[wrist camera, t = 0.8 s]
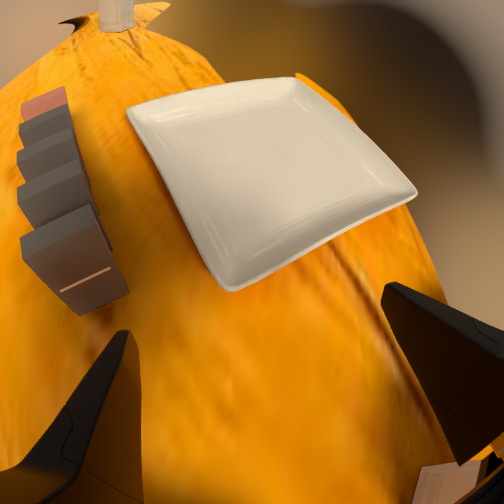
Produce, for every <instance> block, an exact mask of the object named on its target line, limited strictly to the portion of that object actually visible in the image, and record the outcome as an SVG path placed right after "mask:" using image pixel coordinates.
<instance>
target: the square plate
mask: <svg viewBox="0 0 504 504" xmlns="http://www.w3.org/2000/svg"><path fill="white" fill-rule="evenodd" d="M126 114H127V117H128V119H129V121H130V123H131V124H132V126H133V128H134V130H135V131H136V133H137V134H138V136H139V138H140V139H141V141H142V143H143V144H144V146H145V148H146V150H147V151H148V153H149V155H150V157H151V158H152V160H153V162H154V164H155V166H156V168H157V169H158V171H159V173H160V175H161V177H162V179H163V181H164V183H165V185H166V187H167V189H168V191H169V193H170V195H171V197H172V199H173V201H174V203H175V205H176V207H177V209H178V211H179V213H180V215H181V217H182V219H183V221H184V223H185V225H186V227H187V229H188V231H189V233H190V235H191V237H192V239H193V241H194V243H195V245H196V247H197V249H198V251H199V253H200V255H201V257H202V259H203V261H204V263H205V264H206V266H207V268H208V270H209V272H210V273H211V275H212V277H213V278H214V280H215V281H216V283H217V284H218V285H219V286H220V287H221V288H222V289H224V290H226V291H228V292H235V291H238V290H240V289H243V288H245V287H247V286H250V285H251V284H253V283H256V282H258V281H259V280H261V279H263V278H265V277H267V276H269V275H270V274H272V273H274V272H276V271H277V270H279V269H281V268H282V267H284V266H286V265H287V264H289V263H291V262H293V261H294V260H296V259H298V258H300V257H301V256H303V255H305V254H307V253H308V252H310V251H311V250H313V249H315V248H317V247H319V246H321V245H322V244H324V243H326V242H327V241H329V240H331V239H333V238H334V237H336V236H338V235H340V234H342V233H344V232H345V231H347V230H349V229H351V228H353V227H355V226H357V225H359V224H361V223H363V222H365V221H367V220H369V219H372V218H373V217H376V216H378V215H380V214H382V213H384V212H386V211H389V210H391V209H393V208H395V207H397V206H399V205H402V204H404V203H406V202H408V201H410V200H411V199H413V198H414V197H416V195H417V194H418V192H417V190H416V188H415V187H414V186H413V184H412V183H411V182H410V181H409V180H408V179H407V177H406V176H405V175H404V174H403V173H402V172H401V171H400V170H399V168H398V167H397V166H396V165H395V164H394V163H393V162H392V161H391V160H390V159H389V158H388V156H387V155H386V154H385V153H384V152H383V151H382V150H381V149H380V148H379V147H378V146H377V145H376V144H375V143H374V142H373V141H372V140H371V139H370V138H369V137H368V136H367V135H366V134H364V133H363V132H362V131H361V130H360V129H359V128H358V127H357V126H356V125H355V124H354V123H353V122H352V121H350V120H349V119H348V118H347V117H346V116H345V115H344V114H342V113H341V112H340V111H339V110H338V109H336V108H335V107H334V106H333V105H331V104H330V103H329V102H328V101H327V100H325V99H324V98H323V97H321V96H320V95H319V94H317V93H316V92H315V91H313V90H312V89H311V88H309V87H308V86H307V85H305V84H304V83H302V82H301V81H299V80H298V79H296V78H294V77H280V78H267V79H255V80H247V81H239V82H232V83H226V84H220V85H214V86H208V87H204V88H199V89H194V90H189V91H185V92H181V93H176V94H172V95H168V96H165V97H161V98H157V99H154V100H150V101H147V102H144V103H141V104H138V105H135V106H131V107H129V108H128V109H126Z"/></svg>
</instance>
